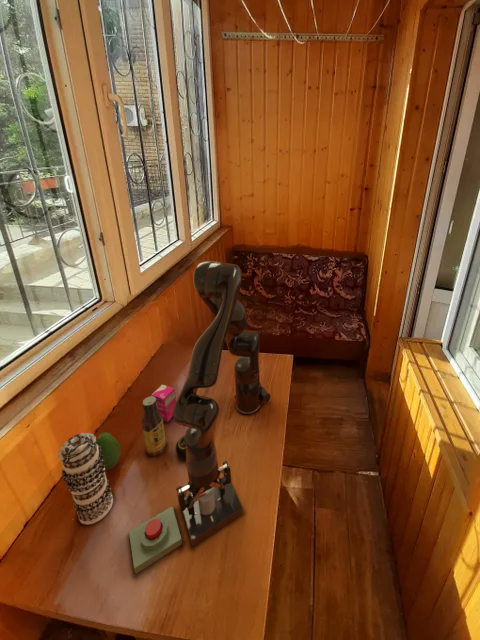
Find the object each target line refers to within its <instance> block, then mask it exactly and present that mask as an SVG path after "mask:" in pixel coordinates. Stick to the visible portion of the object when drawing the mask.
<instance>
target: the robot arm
mask: <svg viewBox="0 0 480 640" xmlns="http://www.w3.org/2000/svg"><path fill="white" fill-rule="evenodd" d="M192 276H193V277H192V279H193V288H194V290H195V292H196V294H197V295H198V297H199V298H200V299H201V301H203V303H204V304H205V306H206V307H207V308H208V310H209V311H210V313H211V314H212V316H213V318H214V319H213V320H212V322H211V323H210V325H209V326H208V327H207V328H206V329H205V330H204V332H202V334H201V335H200V336H199V338H198V339H197V341H196V342H195V344H194V346H193V348H192V352H191V357H190V362H189V367H188V373H187V376H186V379H185V381H184V383H183V386H182V388H181V390H180V392H179V394H178V397H177V398H176V403H175V405H174V409H173V419H174V422H175V423H176V424H177V425H179V426H182V427H186V428H187V429H186V431H185V433H184V436H185V438H184V440H185V448H186V460H185V466H186V470H187V477H188V482H187V485H185V486H183V487H182V486H181V485H180V486H177V488H176V489H175V490H176V495H177V502H178V504H179V508H180V511H181V512H182V511H184V510H185V509H186V508H187V509H188V513H189V515H192V516H194V515H195V511H194V503H195V501H198V499H199V497H200V495H201V494H203V493H204V492H206V491H207V490H210V489H211V488H212V487H214V488H217V489H218V493H219V496H220V498H221V499H222V498H223V495H225V485H226V484H230V483H231V484H232V474H231V473H232V472H231V471H232V470H231V467H230V465H229V462H228V461H227V460H224V461H223V462H222V465H221V466H219V462H218V452H217V447H216V442H215V440H216V439H215V431H216V425H217V421H218V419H219V414H220V407H219V404H218V402H217V400H215V399H214V398H211V397H208V396H203V395H201V394H197V392H198V390H199V389H209V388H213V387H214V386H215V385H216V383H217V381H218V378H219V371H220V365H221V360H222V353H223V349H224V345H225V342H226V345H227V349H228V352H229V354H230V355H231V356H234V357H239V358H238V359H237V360H235V362H234V364H233V365H234V366H233V367H234V369H233V371H234V386H235V387H234V388H235V396H234V400H235V406H236V410H237V411H238V413H240V414H242V415H252V414H255V413H257V412H258V411H259V409H260V407H262V406H263V403H264V402H266V403H269V401H270V400H271V396H272V395H271V394H270V393H269V392H268V391H267V390H266V388H265V387H264V386H262V384H261V380H260V379H261V378H260V377H261V375H260V347H261V346H260V345H261V339H260V333H259V332H258V330H247V329H246V328H247V326H248V322H249V318H248V315H247V311H246V308H245V306H244V304H243V303H242V302H241V301H240V300H239V299H238V298H239V295H240V291H241V287H242V281H243V280H242V279H243V278H242V277H243V274H242V269H241V268H240V266H239V265H238V264H234V263H228V262H220V261H214V260H213V261H212V260H205V261H202V262H200V263H198V264H197V266H196V267H195V268H194V271H193V275H192ZM221 473H222V475H223V476H224V477H223V476H222V477H223V478H221V477H220V476H221ZM186 497H187V498H186ZM184 498H186V499H184Z"/></svg>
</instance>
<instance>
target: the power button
mask: <svg viewBox="0 0 480 640" xmlns="http://www.w3.org/2000/svg"><path fill="white" fill-rule="evenodd" d="M161 530H162V527H161V522H160V520H158V519H153V520H151V521H150V522H149V523H148V524H147V526H146V529H145V531H146V536H147V538H148V539H150V540H153V539H155V538H157V537H158V536H159V534H160V533H161Z"/></svg>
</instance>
